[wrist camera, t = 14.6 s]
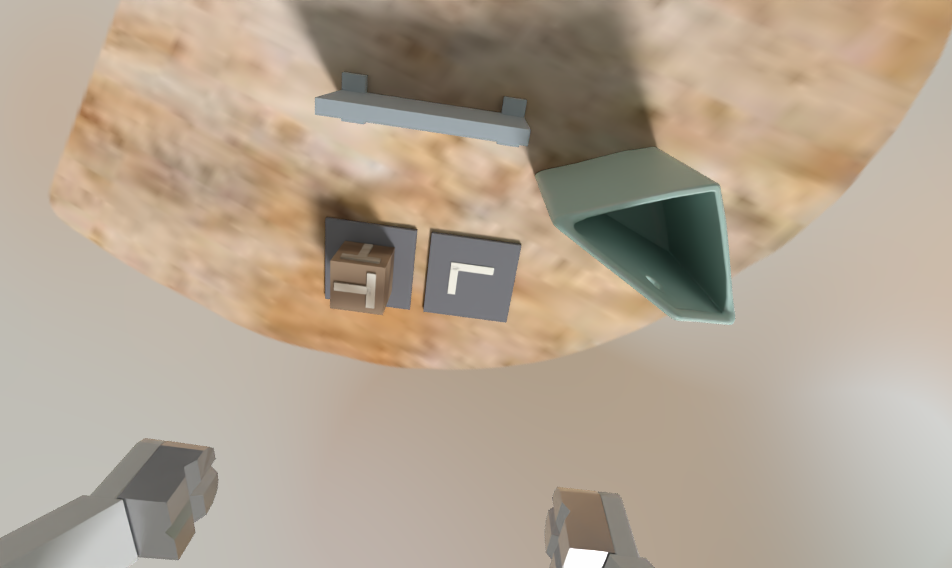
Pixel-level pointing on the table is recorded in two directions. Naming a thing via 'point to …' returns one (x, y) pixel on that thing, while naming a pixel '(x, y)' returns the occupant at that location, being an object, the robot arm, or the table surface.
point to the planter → (649, 228)
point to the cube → (361, 277)
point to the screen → (424, 113)
